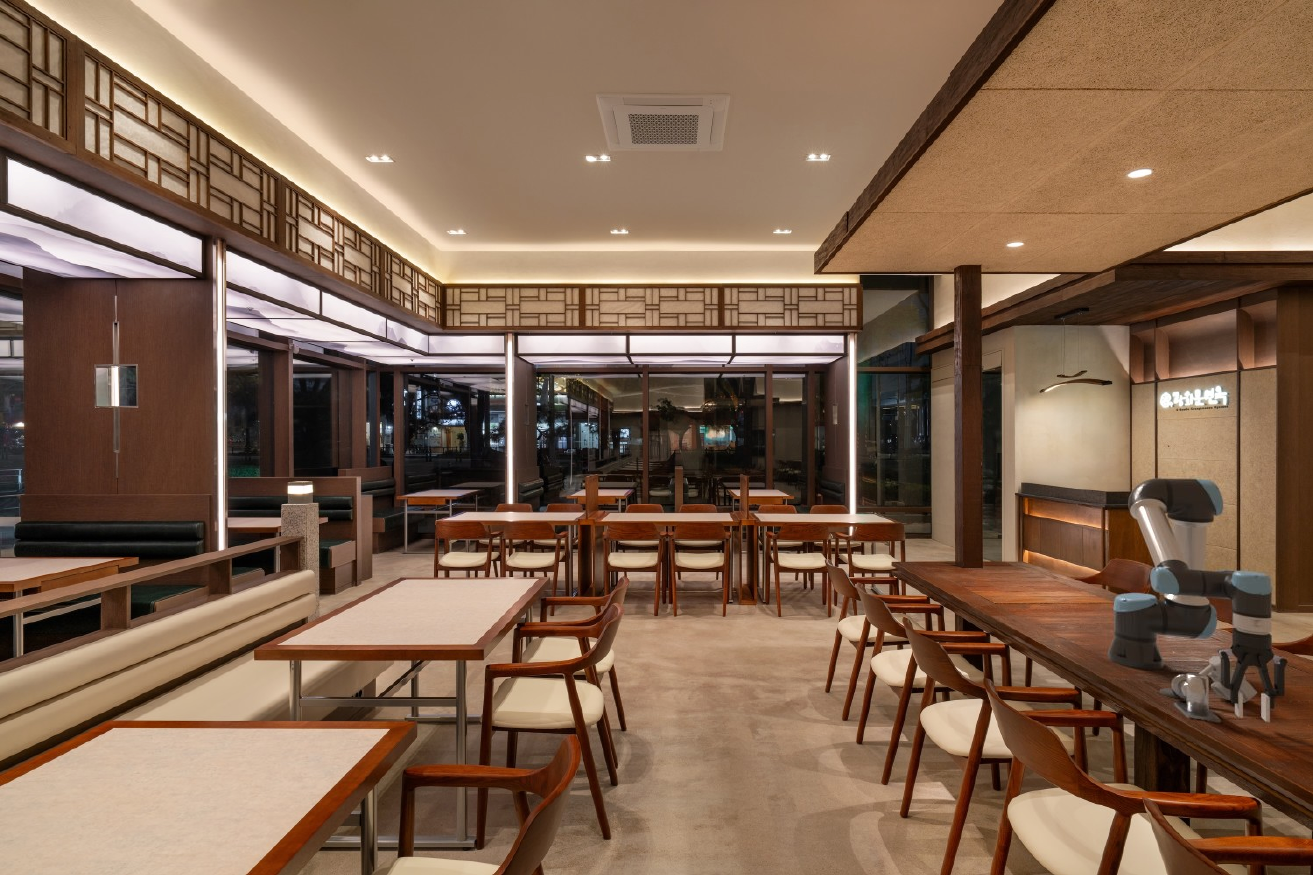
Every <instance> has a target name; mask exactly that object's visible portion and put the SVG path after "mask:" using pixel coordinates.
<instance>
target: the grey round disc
mask: <svg viewBox="0 0 1313 875" xmlns="http://www.w3.org/2000/svg"><path fill="white" fill-rule="evenodd" d="M1159 693H1160V694H1161V695H1162V696H1165V697H1168V698H1172V699H1177V700H1178V699H1179V700H1181V699H1180V698H1178V697H1177V696H1175V695H1174V693H1173V691H1172V688H1159Z"/></svg>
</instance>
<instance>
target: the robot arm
mask: <svg viewBox="0 0 1313 875" xmlns="http://www.w3.org/2000/svg"><path fill="white" fill-rule="evenodd" d="M1127 504H1128V510H1129V512H1130V515H1131V517H1132V518H1133V519H1135V520H1137V524H1138V525H1139V529H1140V532H1141V534H1142V536H1143V538H1144V541H1145V544H1146V547H1147V549H1148V551H1149V553H1150V556H1151V560H1152V562H1153V564H1154V567H1153V568H1152V569H1151V570H1150V574H1149V575H1150V576H1149V578H1150V580H1149V581H1150V584H1151V588H1152V589H1153V591H1154V592H1156V593H1159V594H1163V600H1162V599H1158V598H1157V596H1156V595H1153V594H1149V593H1142V592H1129V593H1121V594H1118V595H1117V596H1115V598H1114V601H1113V602H1114V604H1113V622H1114V623H1113V627H1114V628H1113V629H1114V630H1113V639H1112V640H1111V643H1110V645H1109V648H1108V652H1107V657H1108V659H1109V660H1110V661H1111V662H1113V663H1116V664H1118V665H1121V666H1125V667H1128V668H1134V669H1138V670H1147V671H1148V670H1149V671H1150V670H1151V671H1155V670H1156V671H1157V670H1162V669H1163V668H1164V666H1165V665H1164V658H1163V656H1162V653H1161V650H1160V649H1159V648H1160V647H1159V646H1158V640H1157V638H1158V635H1159V636H1160V635H1161V636H1169V637H1178V638H1186V639H1187V638H1188V639H1193V640H1194V639H1200V640H1202V639H1203V640H1207V639H1209V638H1211V637H1212V636H1213V635H1214V634H1215V632H1216V631H1217V630H1216V629H1217V625H1218V617H1217V614H1218V613H1217V610H1216V608H1215V607H1214V605H1212V604H1210V600H1209V599H1208V598H1212V599H1222V600H1230V601H1231V603H1232V604H1231V605H1232V608H1231V610H1232V614H1231V615H1232V617H1231V618H1232V621H1231V622H1232V623H1231V624H1232V627H1233V628H1232V630H1231V631H1232V633H1231V634H1232V635H1231V636H1232V639H1231V640H1232V645H1231V646H1230V647H1229V648H1227V649H1221V648H1219V649H1218V650H1217V653H1218V656H1220V658H1221V684H1222V685H1223V686H1224V687H1225V688H1226V689H1230V700H1229V701H1231V703H1232V704H1234V714H1235V715H1236V716H1237V717H1238V718H1240V719H1243V718H1244V710H1243V709H1244V703H1243V694H1242V693H1241V692H1240V691H1239V689H1240V686H1241V683H1242V680H1243V677H1244V676H1245V674H1246V671H1247V670H1248V667H1256V668H1257V670H1258V674H1259V677H1260V680H1261V683H1262V686H1263V690H1264V692H1262V693H1260V694H1261V695H1260V696H1261V697H1260V702H1261V703H1260V706H1261V708H1260V709H1261V710H1260V714H1261V716H1260V718H1262V719H1263V721H1264V722H1266V723H1270V722H1271V710H1274V709H1275V699H1277V697H1283V696H1285V682H1286V681H1285V673H1286V672H1285V668H1286V666H1287V665H1288V662H1289V661H1288V660H1287V659H1286V658H1285V657H1283V656H1282V655H1278V654H1277V655H1276V654H1275V653H1274V651H1273V648H1272V647H1273V646H1272V645H1273V639H1272V634H1271V633H1272V606H1273V604H1272V603H1273V602H1272V599H1273V598H1272V597H1273V596H1272V595H1273V594H1272V592H1273V587H1272V579H1271V577H1270V575H1268V574H1266V573H1262V572H1261V573H1260V572H1259V571H1251V570H1236V571H1235V570H1229V569H1220V570H1217V571H1215V570H1206V559H1207V558H1206V555H1207V537H1208V536H1207V535H1208V526H1210V525H1211V524H1213V523H1214V522H1215V516H1216V517H1217V516H1220V515H1222V514H1223V510H1224V499H1223V496H1222V492H1221V490H1220V489H1219V486H1218V485H1217V484H1216V483H1215V482H1214V481H1212V480H1210V479H1202V478H1201V479H1200V478H1161V477H1156V478H1150V479H1147V480H1145V481H1142V482H1141V483H1138V485H1136V486H1135V487H1134V489H1132V491H1131V492H1130V494H1129V496H1128V502H1127ZM1166 514H1167V515H1166ZM1168 519H1169V520H1168ZM1169 521H1171V522H1172V527H1171V524H1170V522H1169ZM1232 655H1233V656H1234V657H1235V658H1236V662H1235V668H1234V670H1233V671H1234V674H1233V677H1232V680H1231V683H1230V668H1231V658H1232ZM1271 660H1272V662H1273V684H1272V680H1271V677H1270V674H1269V669H1268V665H1267V664H1268V663H1269V662H1270V661H1271Z"/></svg>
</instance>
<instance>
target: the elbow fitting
mask: <svg viewBox="0 0 1313 875" xmlns="http://www.w3.org/2000/svg"><path fill="white" fill-rule="evenodd" d="M1170 684H1171V689H1173V691H1174V692H1175V693H1176V694H1177V695H1178V696H1180V697H1181V698H1184V699H1183V700H1186V702H1180V701H1179V702H1178V701H1174V702H1173V705H1174V707H1176V708H1177V709H1178V710H1179V711H1180V712H1181V713H1182V714H1183V715H1184V716H1185V717H1186V718H1187V719H1190V718H1193V719H1192V720H1197V719H1201V720H1200V721H1205V720H1207V721H1206V722H1212V723H1221V722H1222V721H1221V718H1220V717H1219V716H1217V715H1216V714H1215V713H1214V712H1213V711H1212V710H1210V708H1209V698H1210V697H1209V691H1210V690H1209V686H1210V685H1209V684H1210V683H1209V676H1208V675H1207V676H1205V675H1202V674H1199V673H1198V672H1187V673H1181V674H1177V675H1175V676H1174V677H1173V678H1172V679H1171V682H1170Z"/></svg>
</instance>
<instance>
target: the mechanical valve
mask: <svg viewBox="0 0 1313 875" xmlns="http://www.w3.org/2000/svg"><path fill="white" fill-rule="evenodd" d="M1208 663H1209V665H1207V666H1206V667H1204V668H1203V670H1201V671H1200V672H1199V673H1198V674H1202V675H1205V676H1207V677H1208V678H1211V680H1212V681H1213V682H1212V683H1211V684H1210V687H1211V689H1212V690H1213V691H1214V692H1215V693H1216V694H1217V695H1218V696H1219V697H1221V698H1223V699H1225V700H1227V701H1231V700H1230V689H1226V688H1225V687H1224V686H1223V685H1222V684H1221V658H1220V655H1213V656H1211V657H1210V658H1209V659H1208ZM1234 671H1235V670H1233V669H1231V667H1230V683H1231V680H1232V677H1233V674H1234ZM1246 678H1247V677H1246V675H1244V677H1243V680H1242V683H1241V686H1240V689H1239V691H1240V692H1241V693H1242V694H1243V704H1245V703H1246V702H1248V701H1249V700H1251V699H1253V697H1255V696H1256V695H1257V694H1258V692H1257V690H1256V689H1254V687H1253V686H1252V685H1251V683H1250V682H1249V681H1247V680H1246ZM1171 689H1172V688H1171ZM1172 691H1173V689H1172ZM1173 693H1174V695H1175V696H1177V697H1178V698H1180V699H1179V700H1185V699H1184V698H1181V697H1180V696H1178V695H1177V694H1176V693H1175V692H1174V691H1173Z"/></svg>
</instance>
